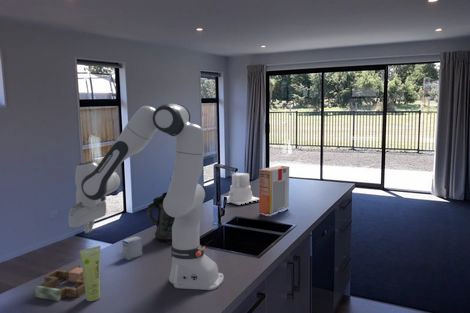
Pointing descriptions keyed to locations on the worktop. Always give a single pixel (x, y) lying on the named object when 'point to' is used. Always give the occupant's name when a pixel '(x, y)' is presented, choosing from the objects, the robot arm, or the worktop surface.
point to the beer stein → (161, 221)
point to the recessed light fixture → (240, 190)
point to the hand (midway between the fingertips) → (88, 231)
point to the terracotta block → (75, 274)
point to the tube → (91, 272)
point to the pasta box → (274, 189)
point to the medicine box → (132, 248)
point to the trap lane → (54, 279)
